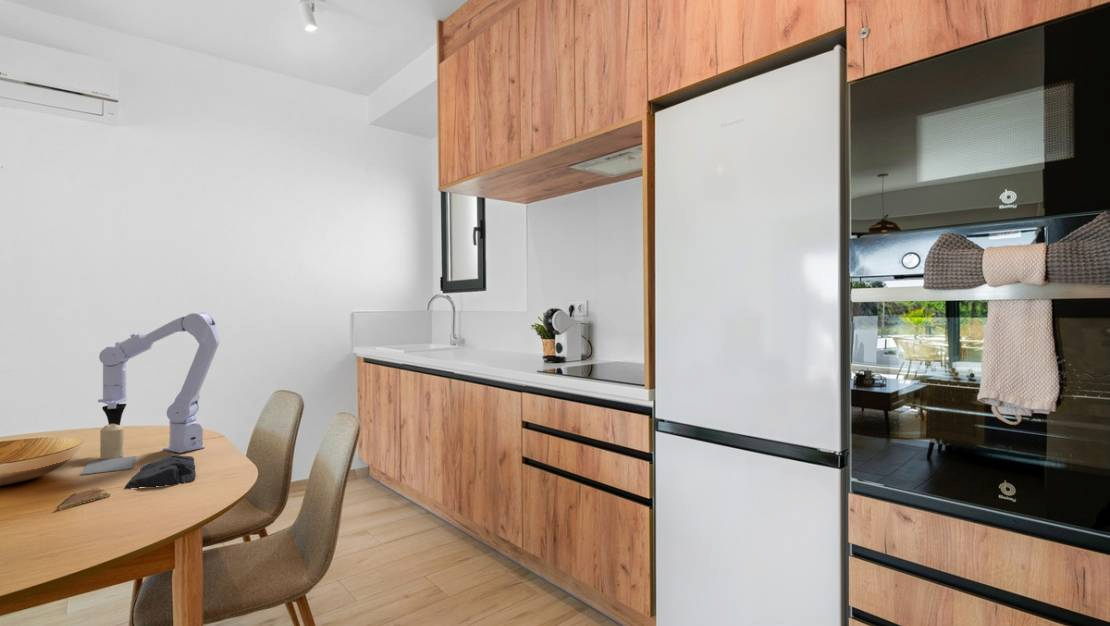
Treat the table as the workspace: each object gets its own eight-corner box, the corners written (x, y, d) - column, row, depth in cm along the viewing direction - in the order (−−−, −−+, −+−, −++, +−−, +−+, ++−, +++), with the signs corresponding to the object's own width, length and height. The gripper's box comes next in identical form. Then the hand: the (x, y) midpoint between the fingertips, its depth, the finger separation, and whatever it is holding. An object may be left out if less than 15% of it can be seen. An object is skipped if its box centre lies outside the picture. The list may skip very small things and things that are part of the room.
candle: (126, 456, 168) (126, 423, 168) (104, 460, 163) (104, 427, 163) (119, 453, 171) (119, 421, 171) (97, 457, 166) (97, 424, 166)
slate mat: (89, 462, 161) (89, 461, 161) (136, 457, 168) (136, 456, 168) (80, 475, 149) (80, 474, 149) (131, 469, 155) (131, 468, 155)
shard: (56, 513, 124) (56, 505, 124) (38, 508, 127) (38, 500, 127) (111, 498, 134) (111, 491, 134) (93, 493, 137) (93, 486, 137)
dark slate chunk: (203, 463, 164) (203, 447, 164) (194, 485, 144) (194, 467, 144) (139, 469, 157) (139, 452, 157) (121, 493, 137) (121, 474, 137)
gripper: (101, 382, 176) (101, 425, 176) (94, 388, 164) (94, 434, 164) (129, 381, 180) (129, 422, 180) (124, 387, 168) (124, 431, 168)
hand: (114, 428), depth 172 cm, fingers closed
